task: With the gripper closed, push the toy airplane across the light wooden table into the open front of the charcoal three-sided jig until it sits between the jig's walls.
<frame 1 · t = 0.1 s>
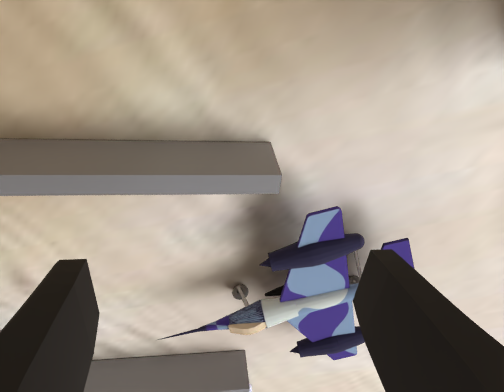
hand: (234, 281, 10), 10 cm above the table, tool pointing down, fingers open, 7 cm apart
toy airplane: (297, 268, 26), on the table
airplane jig: (114, 279, 24), on the table
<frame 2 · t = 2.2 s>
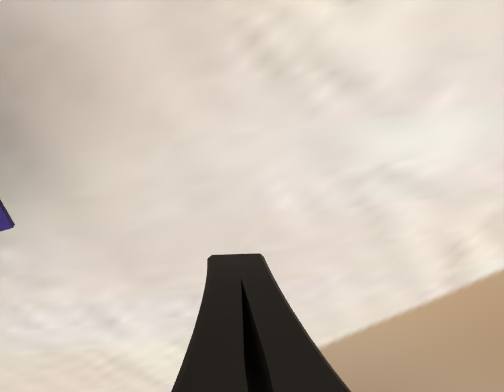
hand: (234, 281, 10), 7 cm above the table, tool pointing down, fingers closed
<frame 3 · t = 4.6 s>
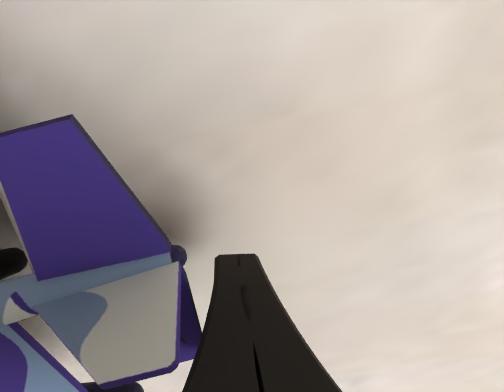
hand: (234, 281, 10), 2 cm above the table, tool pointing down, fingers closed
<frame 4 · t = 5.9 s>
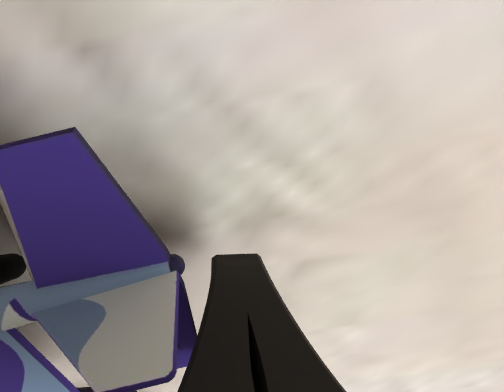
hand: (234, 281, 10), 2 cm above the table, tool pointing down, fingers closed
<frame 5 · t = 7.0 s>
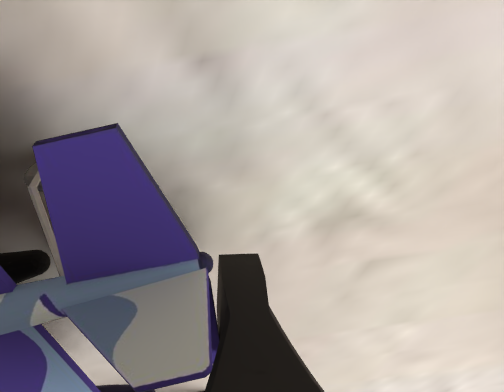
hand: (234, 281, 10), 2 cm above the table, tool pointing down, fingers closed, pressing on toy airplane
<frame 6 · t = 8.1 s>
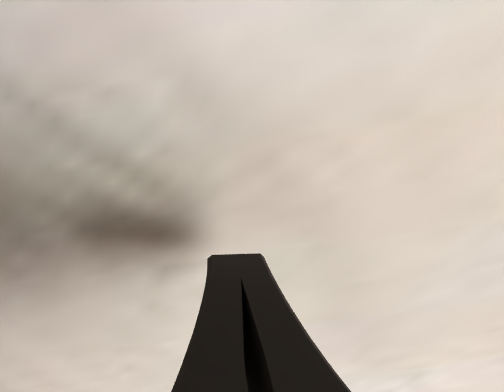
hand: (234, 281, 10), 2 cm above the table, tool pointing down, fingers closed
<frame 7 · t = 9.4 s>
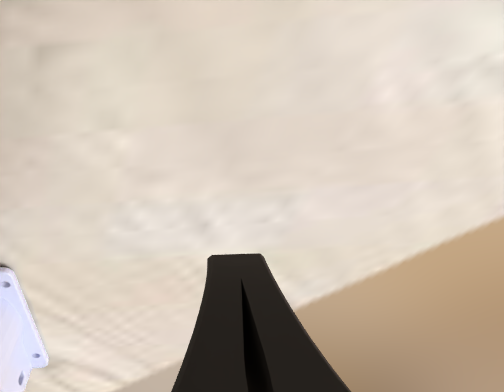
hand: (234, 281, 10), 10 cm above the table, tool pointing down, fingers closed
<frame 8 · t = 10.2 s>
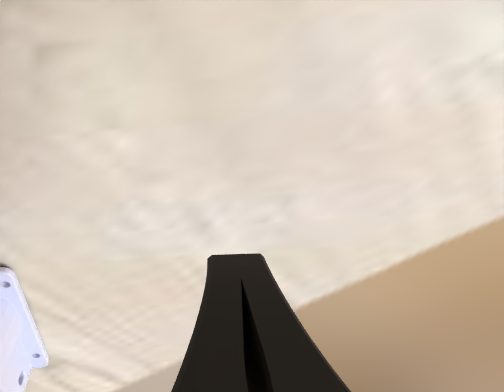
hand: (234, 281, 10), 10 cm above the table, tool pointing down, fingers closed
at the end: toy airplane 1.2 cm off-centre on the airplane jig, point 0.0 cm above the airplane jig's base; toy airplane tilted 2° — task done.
